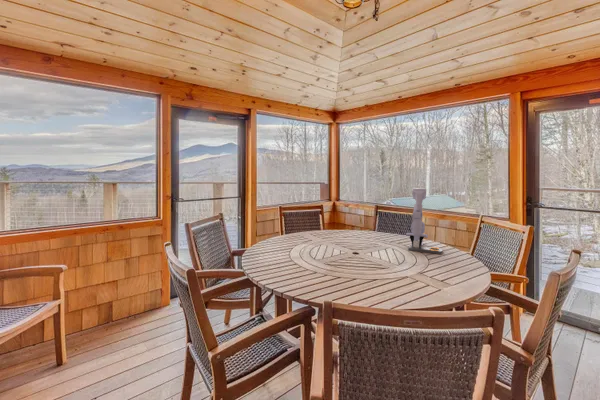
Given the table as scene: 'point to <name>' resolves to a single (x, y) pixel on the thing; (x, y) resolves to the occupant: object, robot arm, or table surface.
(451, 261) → the table surface
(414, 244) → the drilled metal block
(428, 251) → the rail
